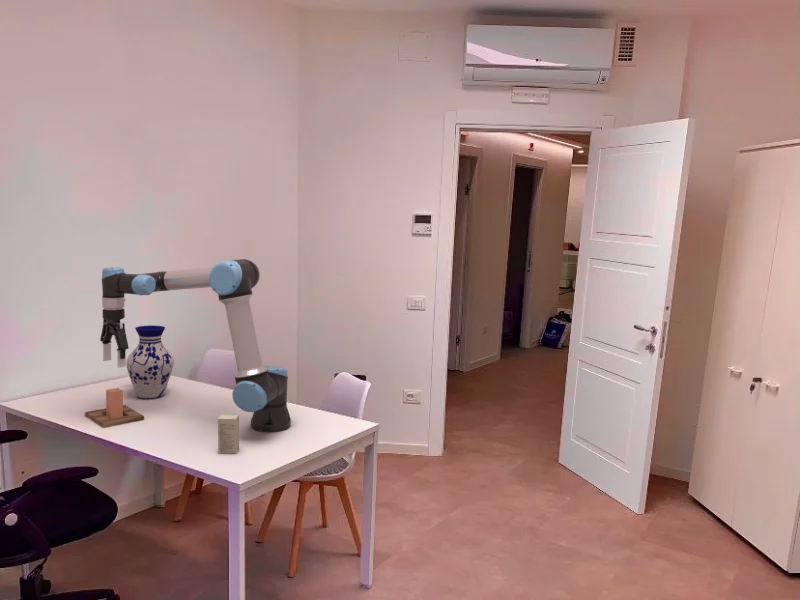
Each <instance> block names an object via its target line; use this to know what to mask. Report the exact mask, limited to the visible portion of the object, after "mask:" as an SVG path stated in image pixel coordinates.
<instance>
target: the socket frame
mask: <svg viewBox="0 0 800 600" xmlns="http://www.w3.org/2000/svg"><path fill="white" fill-rule="evenodd" d="M84 416H85V417H86V418H88V419H89V420H91V421H93V423H96V424H97V425H98V426H100V427H101V428H102V429H105V428H111V427H115V426H120V425H125V424H131V423H135V422H140V421H144V420H145V415H143V414H141V413H139V412H138V411H136V410H135V409H133V408H131V407H129V406H127V405H126V404H123V417H119V418H113V419H109V418H108V417H106V407H105V408H101V409H100V408H99V409H95V410H89V411H85V412H84Z"/></svg>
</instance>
